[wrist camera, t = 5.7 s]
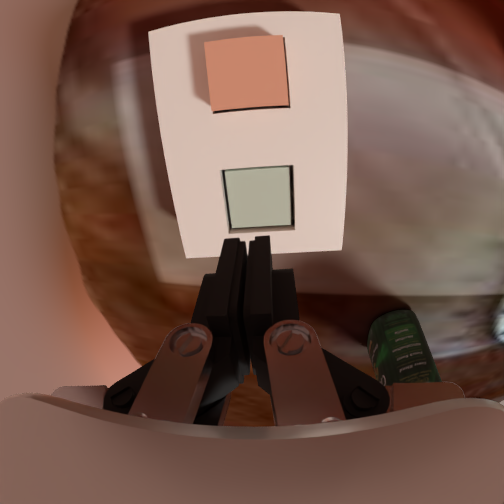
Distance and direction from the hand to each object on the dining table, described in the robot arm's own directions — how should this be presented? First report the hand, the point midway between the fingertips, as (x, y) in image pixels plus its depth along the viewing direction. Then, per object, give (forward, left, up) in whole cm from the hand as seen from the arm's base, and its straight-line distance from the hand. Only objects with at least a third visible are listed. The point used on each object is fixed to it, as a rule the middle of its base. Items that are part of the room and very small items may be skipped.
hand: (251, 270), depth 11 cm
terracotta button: (0, -8, -13) cm, 16 cm away
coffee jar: (-18, +25, -17) cm, 35 cm away
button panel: (0, -3, -17) cm, 17 cm away
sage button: (0, +2, -16) cm, 16 cm away
